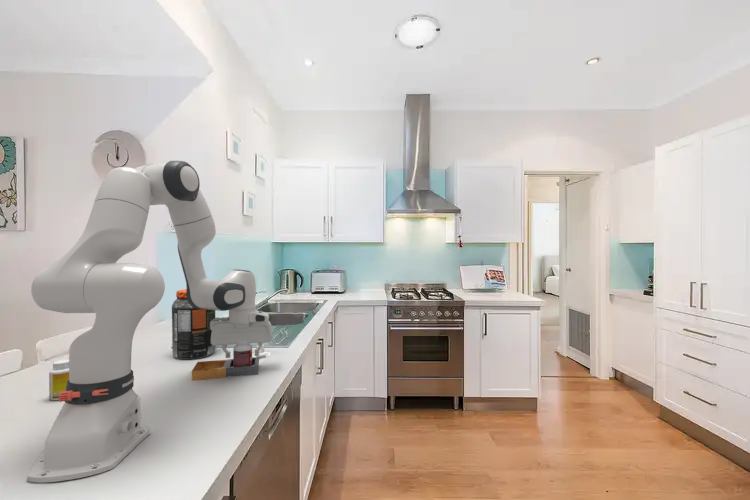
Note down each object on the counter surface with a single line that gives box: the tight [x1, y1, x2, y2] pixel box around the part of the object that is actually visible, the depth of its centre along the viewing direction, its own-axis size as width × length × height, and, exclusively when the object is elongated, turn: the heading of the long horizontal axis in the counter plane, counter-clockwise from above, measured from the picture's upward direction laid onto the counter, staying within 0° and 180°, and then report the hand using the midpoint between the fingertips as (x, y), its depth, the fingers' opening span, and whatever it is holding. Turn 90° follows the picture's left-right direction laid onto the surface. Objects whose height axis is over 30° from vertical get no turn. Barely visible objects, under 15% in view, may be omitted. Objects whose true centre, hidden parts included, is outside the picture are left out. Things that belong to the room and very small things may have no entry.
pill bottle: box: [232, 340, 253, 367], centre depth 130 cm, size 6×6×11 cm
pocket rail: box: [191, 356, 260, 381], centre depth 128 cm, size 10×20×3 cm, turn 106°
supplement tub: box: [171, 288, 217, 360], centre depth 150 cm, size 16×16×26 cm
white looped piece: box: [252, 344, 272, 359], centre depth 149 cm, size 9×8×4 cm
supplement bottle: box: [48, 359, 69, 401], centre depth 107 cm, size 6×6×10 cm
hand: (242, 356), depth 130 cm, fingers open, 8 cm apart
